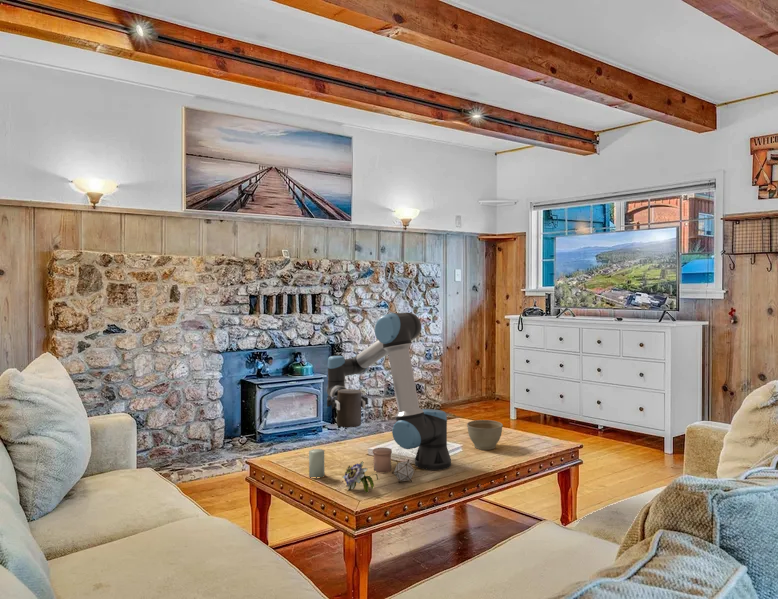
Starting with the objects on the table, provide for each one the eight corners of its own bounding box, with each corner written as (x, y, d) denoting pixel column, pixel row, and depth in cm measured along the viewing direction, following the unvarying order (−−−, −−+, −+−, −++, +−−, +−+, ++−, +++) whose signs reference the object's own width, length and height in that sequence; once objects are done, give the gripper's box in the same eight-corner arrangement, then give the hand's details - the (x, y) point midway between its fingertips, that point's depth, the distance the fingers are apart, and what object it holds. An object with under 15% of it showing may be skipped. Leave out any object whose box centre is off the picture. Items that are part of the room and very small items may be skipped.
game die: (407, 492, 230) (413, 476, 224) (387, 483, 231) (392, 467, 225) (415, 474, 237) (420, 459, 231) (395, 466, 238) (400, 450, 232)
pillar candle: (338, 428, 235) (339, 390, 235) (335, 422, 245) (336, 385, 244) (363, 427, 238) (363, 389, 237) (359, 421, 247) (359, 385, 247)
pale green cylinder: (327, 475, 239) (327, 450, 239) (318, 479, 234) (318, 454, 234) (315, 472, 242) (314, 448, 242) (306, 477, 237) (305, 452, 237)
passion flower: (350, 504, 222) (334, 475, 226) (372, 492, 229) (357, 464, 233) (363, 495, 214) (347, 464, 218) (385, 482, 221) (369, 453, 225)
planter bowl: (464, 443, 285) (464, 420, 284) (498, 442, 285) (498, 419, 285) (470, 452, 269) (470, 428, 268) (506, 452, 269) (506, 428, 269)
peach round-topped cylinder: (395, 468, 247) (395, 449, 247) (386, 474, 240) (385, 453, 240) (378, 465, 251) (378, 446, 250) (369, 471, 244) (369, 451, 244)
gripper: (365, 402, 261) (379, 413, 240) (315, 405, 255) (323, 417, 234) (365, 385, 261) (379, 394, 240) (314, 388, 255) (323, 398, 233)
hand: (351, 405), depth 237 cm, fingers closed on pillar candle, 9 cm apart
